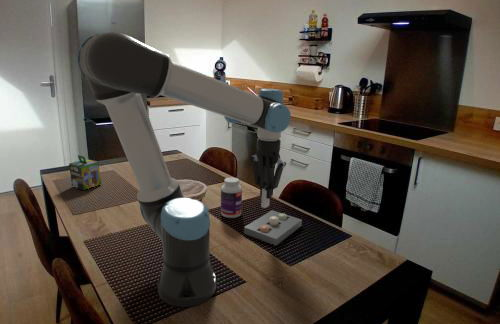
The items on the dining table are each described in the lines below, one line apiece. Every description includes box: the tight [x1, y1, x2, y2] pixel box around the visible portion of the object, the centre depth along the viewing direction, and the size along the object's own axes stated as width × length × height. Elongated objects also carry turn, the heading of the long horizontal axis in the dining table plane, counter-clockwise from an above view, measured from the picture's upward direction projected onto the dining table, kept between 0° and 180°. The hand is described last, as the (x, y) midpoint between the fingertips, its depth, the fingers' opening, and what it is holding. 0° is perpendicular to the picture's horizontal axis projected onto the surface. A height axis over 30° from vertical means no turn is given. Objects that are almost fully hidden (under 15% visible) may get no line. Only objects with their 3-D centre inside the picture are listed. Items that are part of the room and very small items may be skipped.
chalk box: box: [68, 154, 102, 191], centre depth 157 cm, size 9×9×15 cm
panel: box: [243, 209, 303, 246], centre depth 124 cm, size 18×13×2 cm
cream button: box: [269, 216, 279, 227], centre depth 123 cm, size 3×3×3 cm
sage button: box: [278, 212, 288, 221], centre depth 128 cm, size 3×3×3 cm
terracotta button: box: [260, 225, 269, 233], centre depth 119 cm, size 3×3×3 cm
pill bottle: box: [220, 177, 243, 219], centre depth 133 cm, size 8×8×14 cm
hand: (265, 206), depth 117 cm, fingers closed
